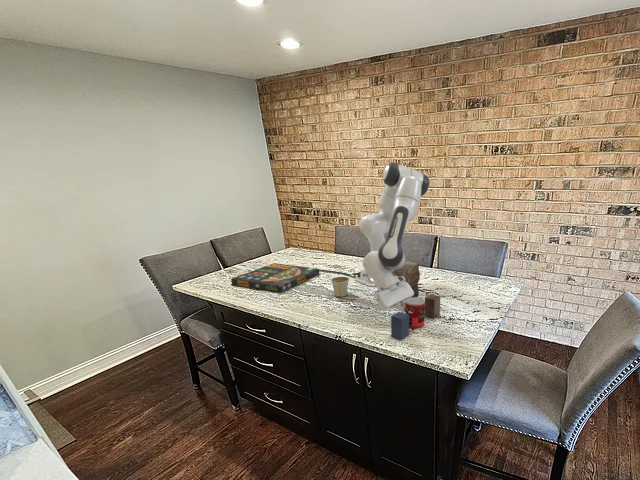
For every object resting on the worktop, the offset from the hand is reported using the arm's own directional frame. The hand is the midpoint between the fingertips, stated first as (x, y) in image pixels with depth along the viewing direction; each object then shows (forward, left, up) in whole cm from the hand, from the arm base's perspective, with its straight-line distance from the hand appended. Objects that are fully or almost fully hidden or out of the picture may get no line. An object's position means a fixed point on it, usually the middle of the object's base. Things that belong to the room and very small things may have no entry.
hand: (405, 311), depth 144 cm
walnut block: (+6, +12, -5) cm, 14 cm away
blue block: (+6, -12, -5) cm, 14 cm away
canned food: (+5, 0, -5) cm, 7 cm away
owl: (-14, +17, -5) cm, 23 cm away
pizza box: (-96, +2, -5) cm, 96 cm away
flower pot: (-46, +6, -5) cm, 47 cm away
